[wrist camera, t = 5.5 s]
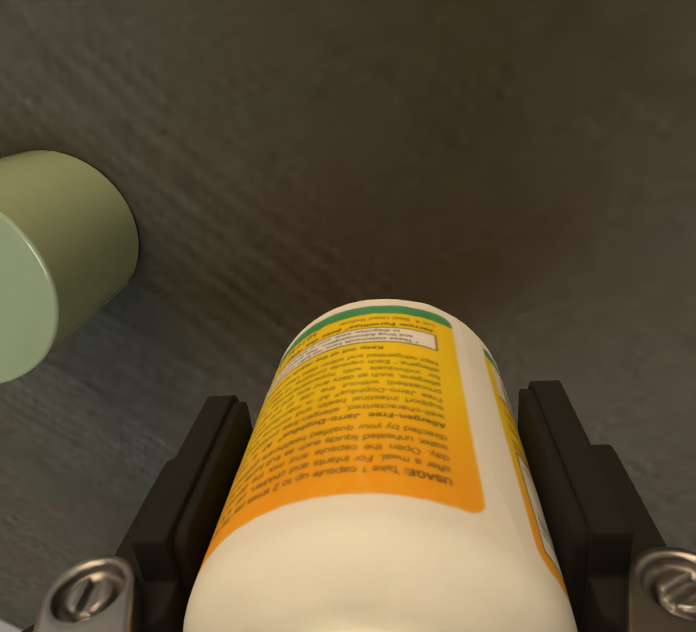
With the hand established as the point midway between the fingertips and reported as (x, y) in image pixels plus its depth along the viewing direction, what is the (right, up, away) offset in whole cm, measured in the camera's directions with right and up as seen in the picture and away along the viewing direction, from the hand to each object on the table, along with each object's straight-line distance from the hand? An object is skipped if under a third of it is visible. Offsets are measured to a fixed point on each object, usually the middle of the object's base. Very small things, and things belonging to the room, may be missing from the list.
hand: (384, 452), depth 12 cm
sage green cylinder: (-10, +5, +6) cm, 13 cm away
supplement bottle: (0, +1, +2) cm, 2 cm away
